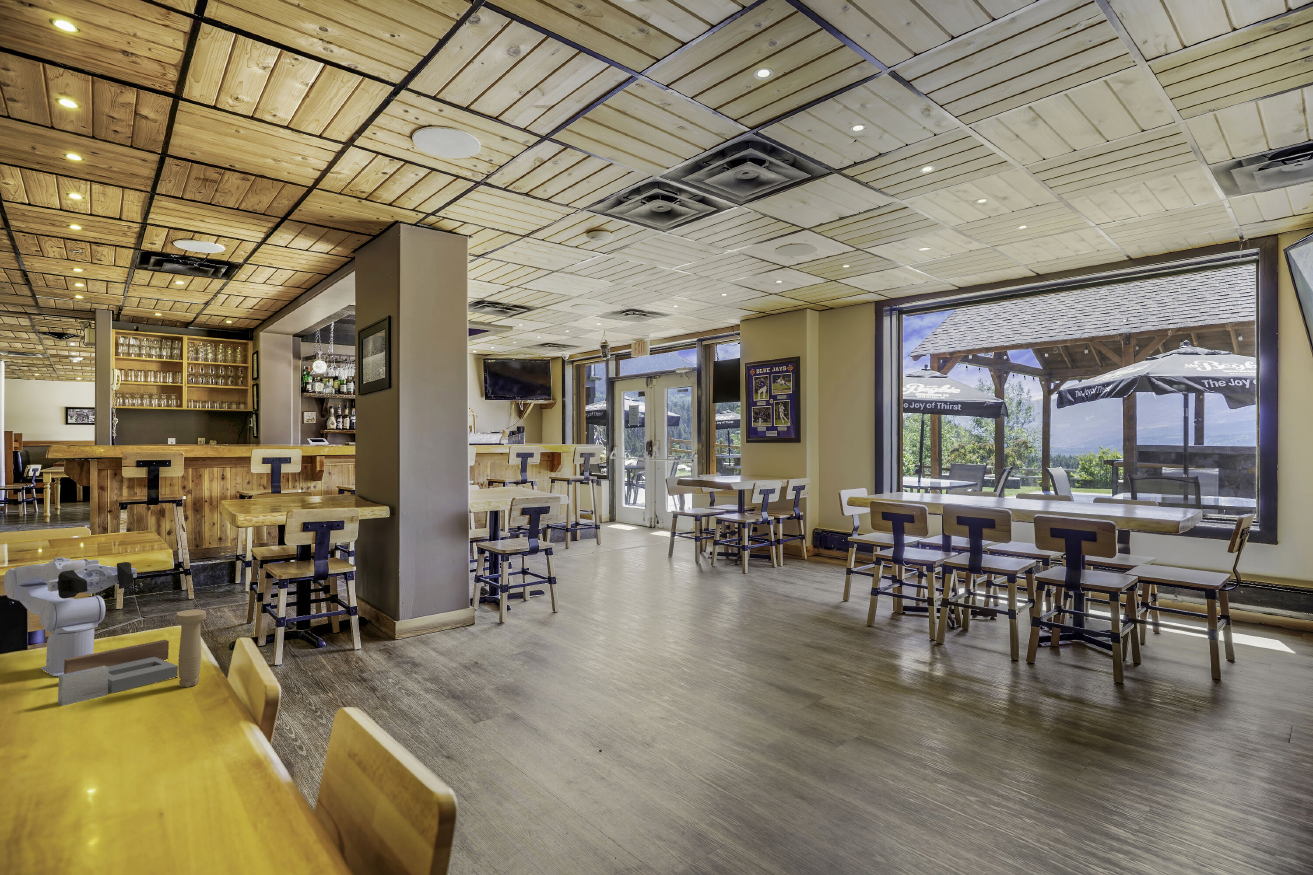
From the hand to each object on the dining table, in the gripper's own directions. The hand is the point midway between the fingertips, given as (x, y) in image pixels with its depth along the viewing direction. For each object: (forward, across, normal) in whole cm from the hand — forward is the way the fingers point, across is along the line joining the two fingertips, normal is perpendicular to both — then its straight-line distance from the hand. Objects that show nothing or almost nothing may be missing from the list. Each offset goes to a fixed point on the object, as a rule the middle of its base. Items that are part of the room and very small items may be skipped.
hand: (108, 582), depth 136 cm
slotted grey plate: (-1, +4, +22) cm, 22 cm away
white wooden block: (+4, -6, +21) cm, 23 cm away
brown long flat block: (-10, +4, +22) cm, 24 cm away
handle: (+12, +9, +22) cm, 27 cm away
